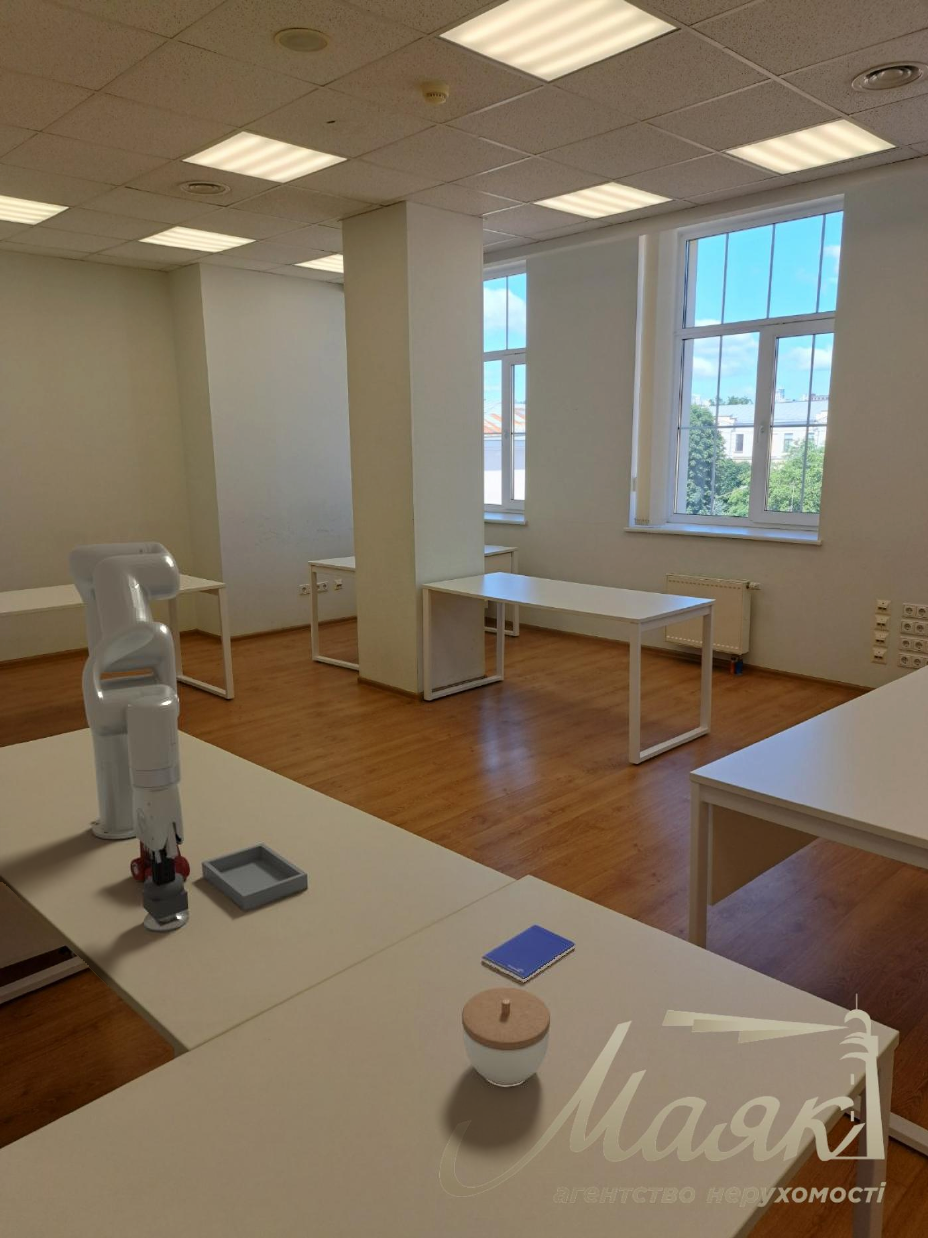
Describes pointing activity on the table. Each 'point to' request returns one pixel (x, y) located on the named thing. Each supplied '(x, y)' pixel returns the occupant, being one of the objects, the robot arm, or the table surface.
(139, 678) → the robot arm
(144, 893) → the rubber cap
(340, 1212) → the table surface
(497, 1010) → the lidded jar
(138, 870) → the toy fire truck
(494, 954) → the hard drive
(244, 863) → the grey shallow rectangular tray
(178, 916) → the silver flared round stand
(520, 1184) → the table surface
